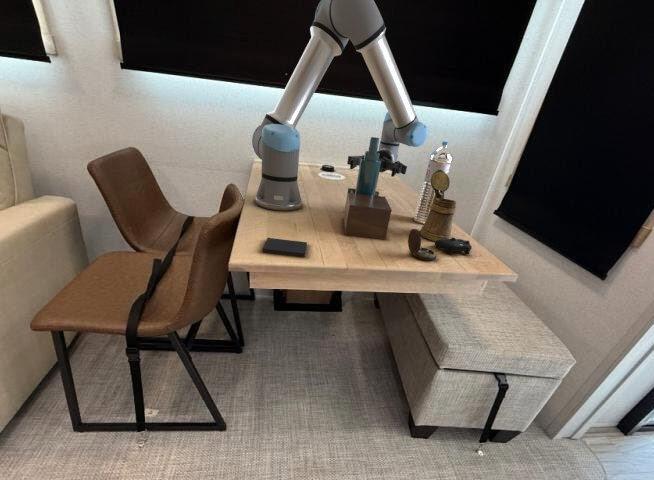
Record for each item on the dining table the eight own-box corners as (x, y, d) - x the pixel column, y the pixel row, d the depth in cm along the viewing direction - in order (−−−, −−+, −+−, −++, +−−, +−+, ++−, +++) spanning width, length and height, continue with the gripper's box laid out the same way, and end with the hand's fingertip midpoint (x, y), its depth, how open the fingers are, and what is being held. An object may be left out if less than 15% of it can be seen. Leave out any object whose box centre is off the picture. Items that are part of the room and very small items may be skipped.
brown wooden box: (343, 219, 105) (347, 192, 100) (379, 223, 105) (385, 196, 101) (344, 234, 93) (349, 204, 89) (385, 239, 94) (391, 209, 89)
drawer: (344, 204, 117) (347, 184, 113) (373, 207, 117) (377, 188, 113) (346, 219, 102) (349, 197, 99) (379, 223, 103) (383, 201, 99)
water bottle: (428, 226, 108) (453, 144, 95) (409, 220, 112) (431, 140, 98) (436, 222, 113) (460, 143, 100) (417, 216, 117) (438, 139, 103)
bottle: (351, 207, 110) (363, 135, 98) (370, 209, 110) (384, 138, 99) (352, 213, 105) (365, 137, 93) (372, 215, 105) (387, 140, 93)
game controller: (461, 242, 96) (475, 233, 90) (464, 259, 95) (478, 252, 89) (432, 241, 94) (444, 233, 88) (435, 259, 93) (447, 252, 87)
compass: (440, 261, 84) (449, 235, 80) (411, 260, 83) (419, 233, 79) (426, 248, 91) (434, 223, 87) (400, 247, 89) (406, 222, 86)
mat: (267, 241, 83) (267, 237, 83) (306, 245, 83) (307, 242, 83) (262, 252, 77) (262, 248, 77) (304, 257, 78) (304, 253, 77)
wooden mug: (436, 227, 109) (454, 170, 99) (454, 243, 97) (476, 180, 88) (411, 225, 107) (426, 167, 98) (426, 241, 96) (446, 177, 86)
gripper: (413, 176, 121) (408, 187, 103) (349, 165, 126) (333, 173, 109) (419, 154, 117) (414, 162, 99) (352, 143, 122) (336, 149, 105)
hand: (372, 168), depth 104 cm, fingers open, 13 cm apart
